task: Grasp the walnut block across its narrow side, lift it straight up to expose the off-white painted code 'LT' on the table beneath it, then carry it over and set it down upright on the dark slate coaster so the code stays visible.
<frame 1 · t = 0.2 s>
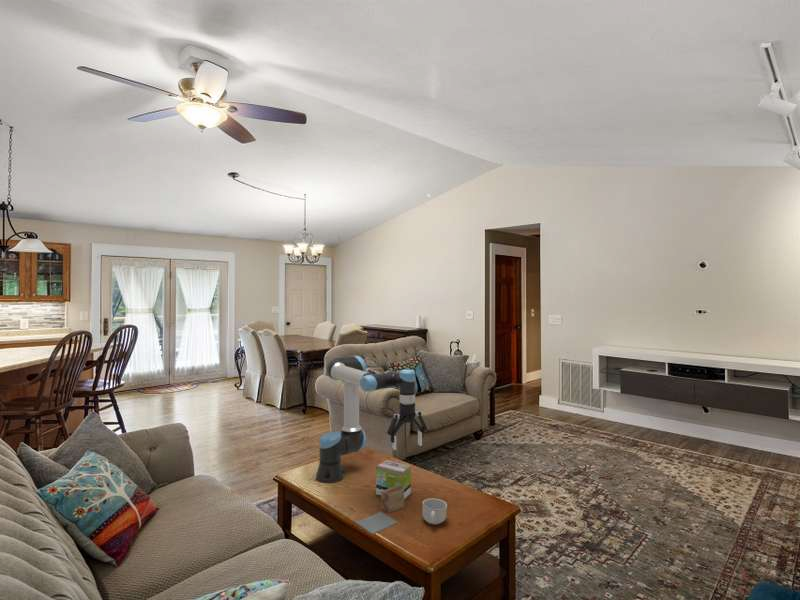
hand: (407, 447, 208), 27 cm above the table, fingers open, 13 cm apart
walnut block: (392, 507, 204), on the table, touching code marks
code marks: (392, 507, 204), on the table
tea box: (393, 494, 218), on the table
teacup: (433, 523, 191), on the table
coaster: (376, 522, 191), on the table
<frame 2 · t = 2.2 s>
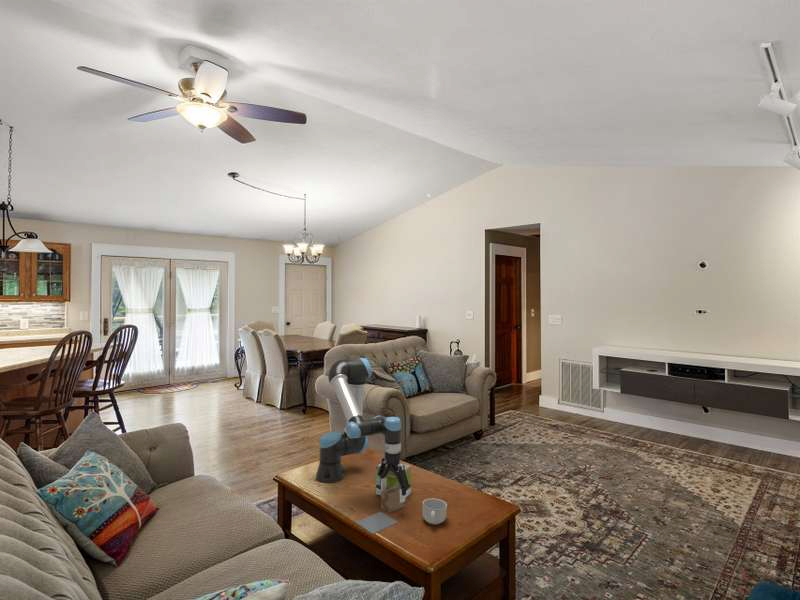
hand: (393, 496, 204), 5 cm above the table, fingers open, 13 cm apart
nothing on the table moved.
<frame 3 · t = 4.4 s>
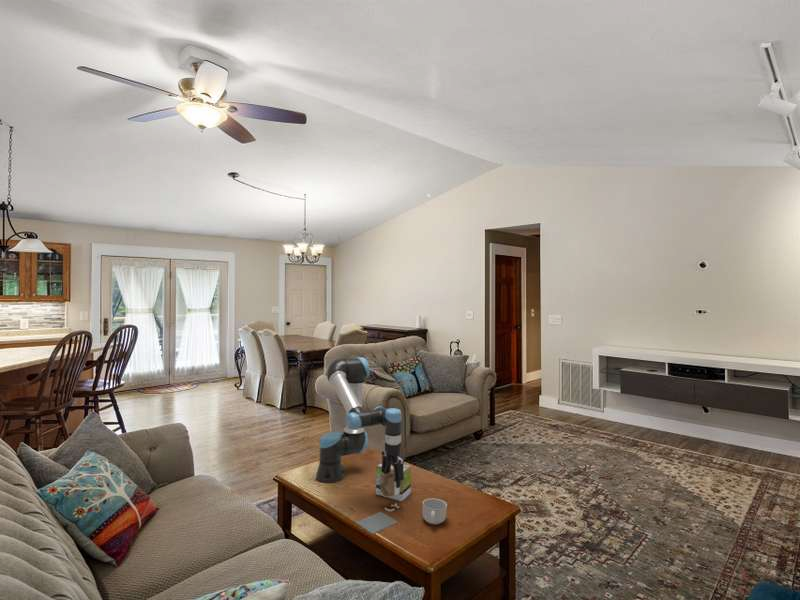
hand: (392, 491, 205), 8 cm above the table, fingers closed on walnut block, 6 cm apart
walnut block: (392, 491, 205), point 7 cm above the table, touching gripper
everything else where it was.
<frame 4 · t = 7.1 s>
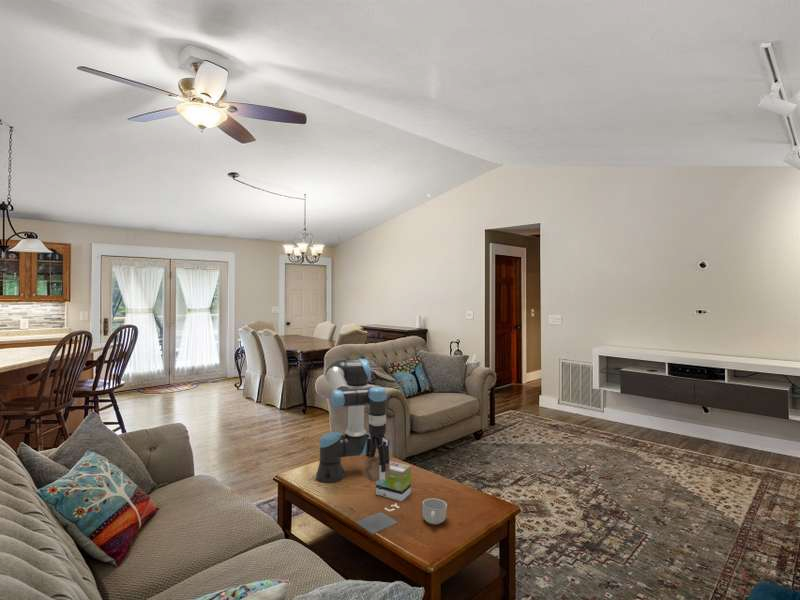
hand: (377, 476, 190), 21 cm above the table, fingers closed on walnut block, 6 cm apart
walnut block: (377, 476, 190), point 20 cm above the table, touching gripper
everything else where it was.
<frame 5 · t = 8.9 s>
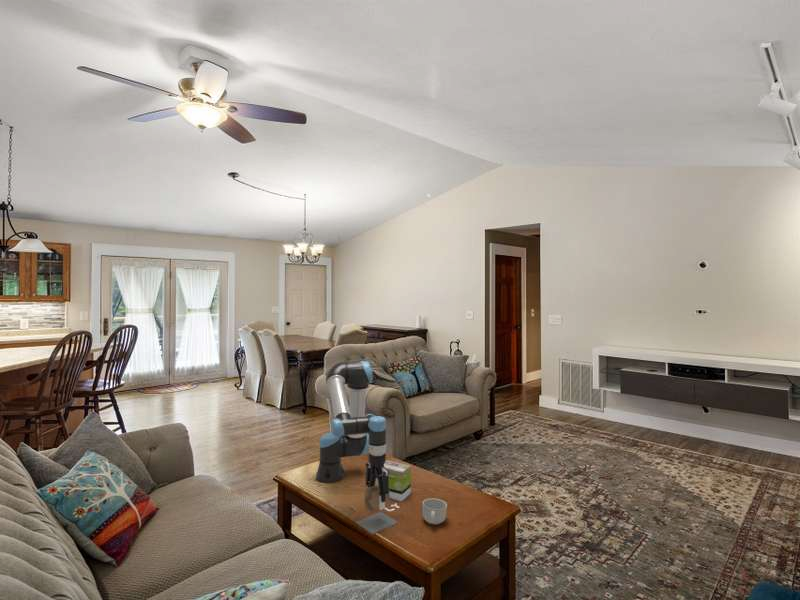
hand: (377, 505, 190), 8 cm above the table, fingers closed on walnut block, 6 cm apart
walnut block: (377, 506, 190), point 7 cm above the table, touching gripper
everything else where it was.
when the fingers open (1 cm above the table, at t = 10.3 s): walnut block stays where it is, resting on coaster.
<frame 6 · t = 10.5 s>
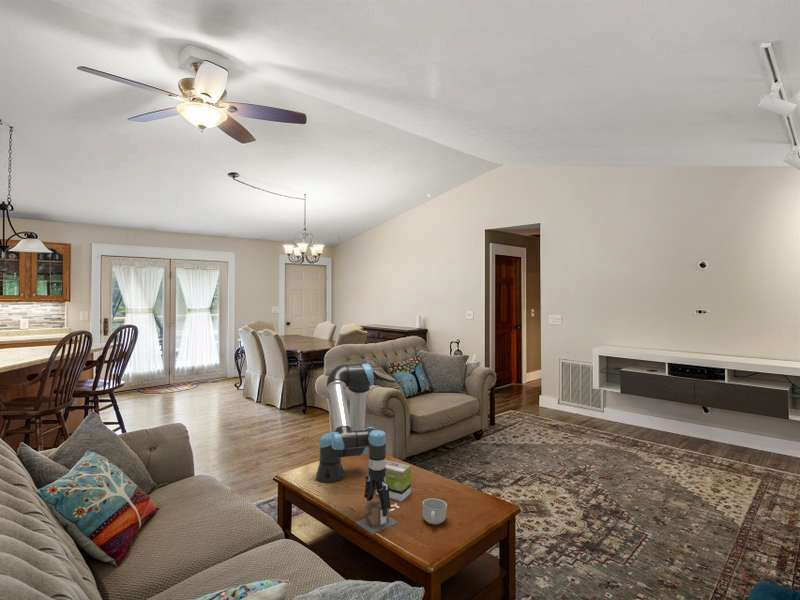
hand: (376, 518, 191), 2 cm above the table, fingers open, 8 cm apart
walnut block: (376, 522, 191), resting on coaster
everything else where it was.
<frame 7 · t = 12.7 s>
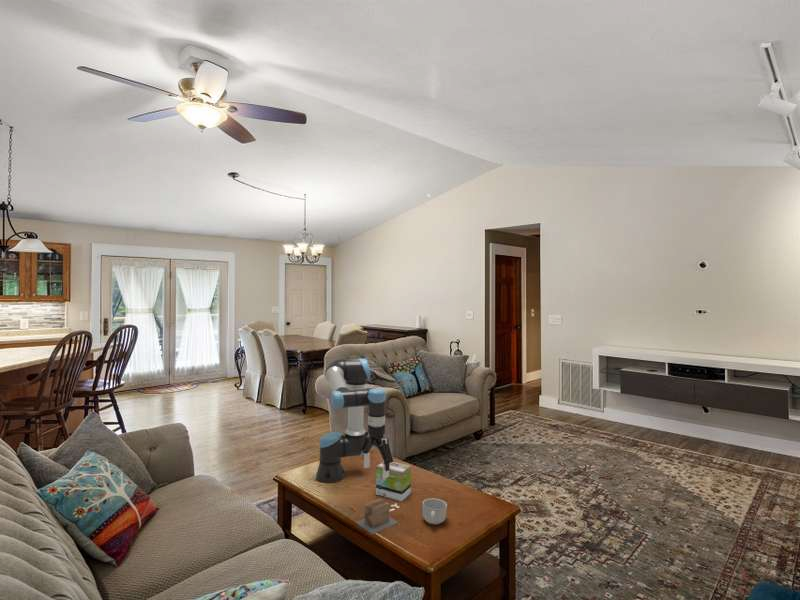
hand: (376, 472, 193), 21 cm above the table, fingers open, 13 cm apart
nothing on the table moved.
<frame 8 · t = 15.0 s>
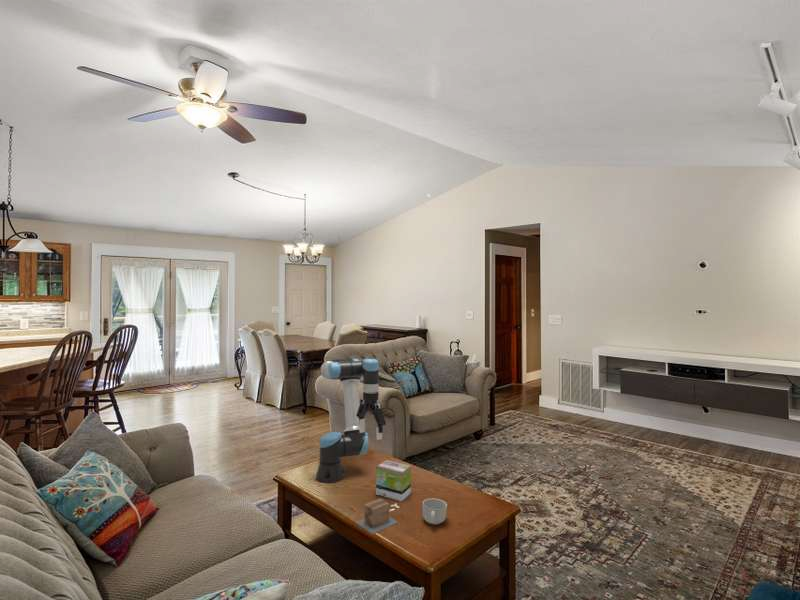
hand: (370, 435, 210), 32 cm above the table, fingers open, 13 cm apart
nothing on the table moved.
at the end: walnut block inside the target area on the coaster (0.1 cm from its centre), point 0.4 cm above the coaster's base; walnut block tilted 0°; walnut block moved 15.2 cm from its start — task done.
